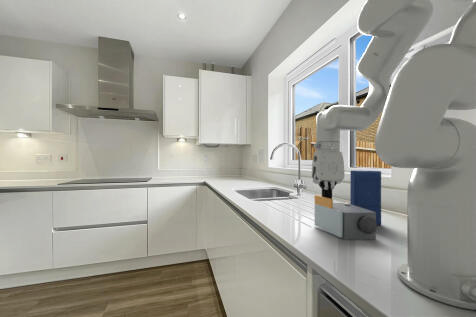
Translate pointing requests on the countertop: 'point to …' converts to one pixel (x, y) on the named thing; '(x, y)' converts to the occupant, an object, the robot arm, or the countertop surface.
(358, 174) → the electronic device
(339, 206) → the camera case
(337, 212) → the side door
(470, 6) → the robot arm
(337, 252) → the countertop surface
